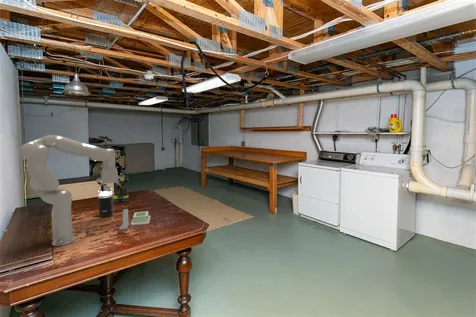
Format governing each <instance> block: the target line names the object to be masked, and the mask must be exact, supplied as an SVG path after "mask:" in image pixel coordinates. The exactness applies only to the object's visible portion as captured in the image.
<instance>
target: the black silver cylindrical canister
mask: <svg viewBox="0 0 476 317" xmlns="http://www.w3.org/2000/svg"><path fill="white" fill-rule="evenodd" d="M103 185H104V191H103V192H102V190H101V186H100V187H99V188H98V189H97V200H98V203H97V204H98V216H99V217H101V218H108V217H112V216H113V215H114V203H113V194H114V193H113V188H112V187H111V186H110V185H108V183H104V184H103Z"/></svg>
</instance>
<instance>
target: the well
mask: <svg viewBox="0 0 476 317" xmlns="http://www.w3.org/2000/svg"><path fill="white" fill-rule="evenodd" d="M150 220H151V215H149V211H148V210H147V211H136V212H135V211H134V214H133V216H132V219H131V223H130V226H140V225H149V224H150Z"/></svg>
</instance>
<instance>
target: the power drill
mask: <svg viewBox="0 0 476 317" xmlns="http://www.w3.org/2000/svg"><path fill="white" fill-rule="evenodd" d="M118 176H119V177H122V178H124V179H123V181H122V183H121V184H120V189H119V194H114V195H113V204H120V203H124V204H125V203H128V202H129V200H130V197H129V194H127V189H126V187H125V184H127V183H128V182H129V175H125V174H120V175H118ZM118 181H119V182H120V181H121V179H119V178H118ZM113 184H114V185H115V187H116V188H117V185H118V184H117V183H113Z"/></svg>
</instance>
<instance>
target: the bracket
mask: <svg viewBox="0 0 476 317" xmlns="http://www.w3.org/2000/svg"><path fill="white" fill-rule="evenodd" d="M128 228H129V209H128V208H125V209H124V208H123V210H122V224H120V225H119V228H118V229H119V231H120V230H128Z"/></svg>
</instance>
